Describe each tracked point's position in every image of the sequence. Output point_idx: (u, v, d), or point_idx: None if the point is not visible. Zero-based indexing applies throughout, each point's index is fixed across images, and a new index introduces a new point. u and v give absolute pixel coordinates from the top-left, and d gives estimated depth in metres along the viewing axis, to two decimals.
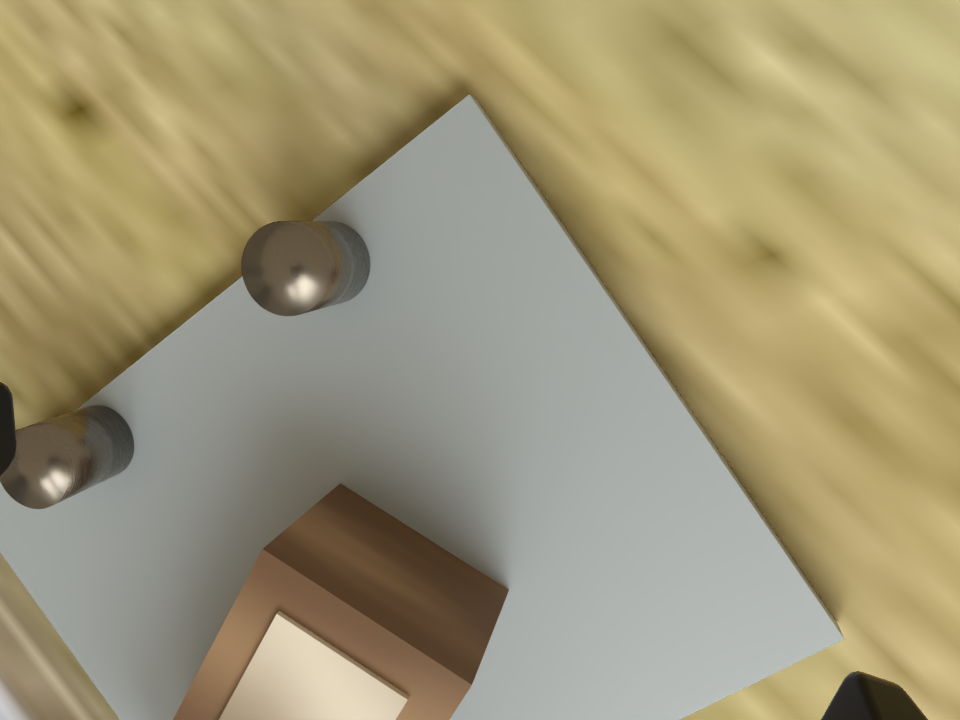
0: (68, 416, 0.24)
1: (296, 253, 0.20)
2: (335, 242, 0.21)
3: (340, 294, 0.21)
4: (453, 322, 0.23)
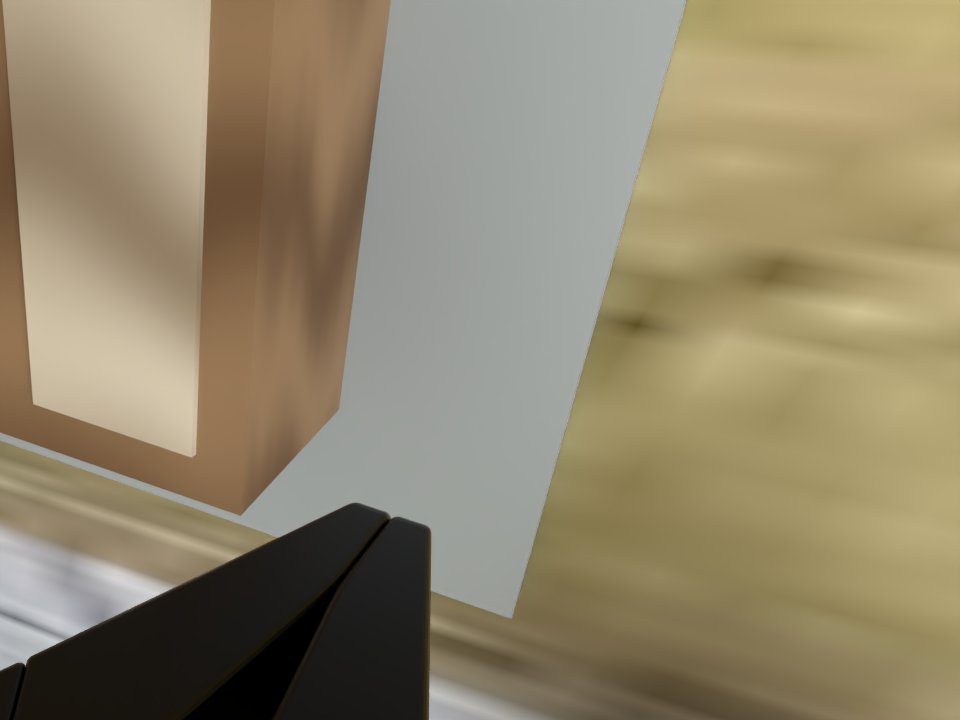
0: None
1: None
2: None
3: None
4: None
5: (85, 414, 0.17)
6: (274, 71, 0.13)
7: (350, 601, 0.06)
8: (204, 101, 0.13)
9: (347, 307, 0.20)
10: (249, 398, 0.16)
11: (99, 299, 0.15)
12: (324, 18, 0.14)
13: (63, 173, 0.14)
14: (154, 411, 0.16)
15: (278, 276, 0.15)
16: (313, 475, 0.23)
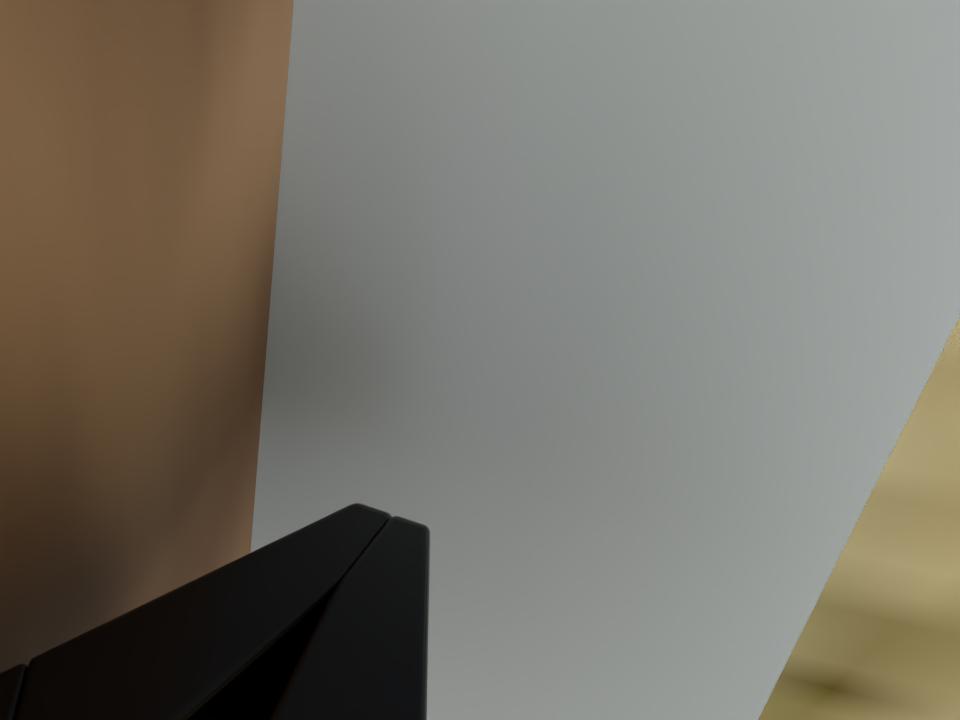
0: None
1: None
2: None
3: None
4: None
5: None
6: None
7: (352, 601, 0.06)
8: None
9: None
10: None
11: None
12: (51, 169, 0.05)
13: None
14: None
15: None
16: None
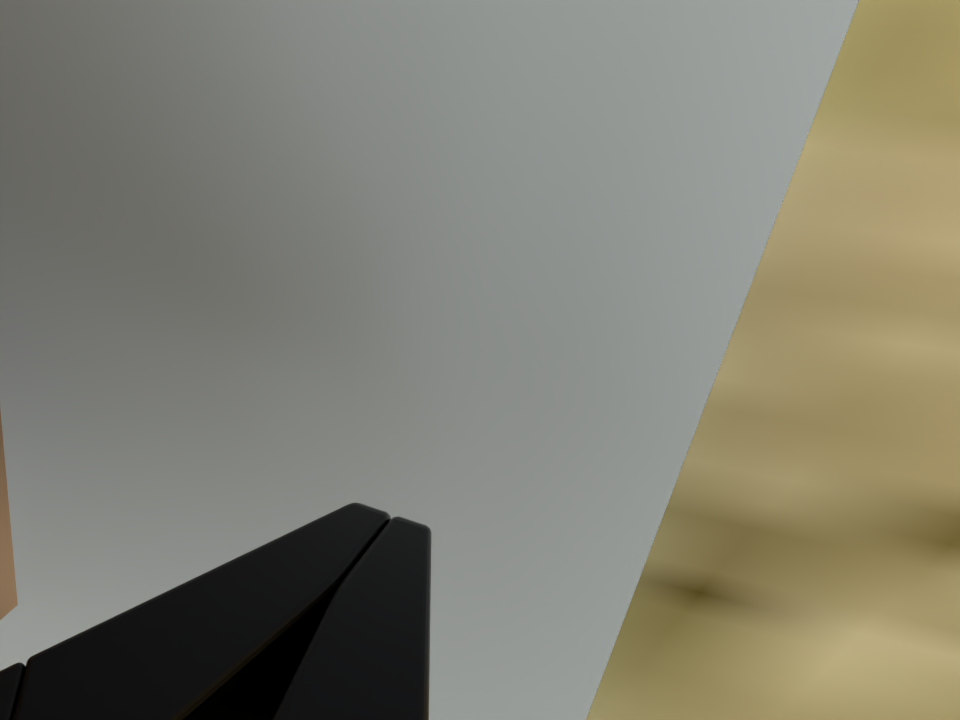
0: None
1: None
2: None
3: None
4: None
5: None
6: None
7: (350, 601, 0.06)
8: None
9: None
10: None
11: None
12: None
13: None
14: None
15: None
16: None
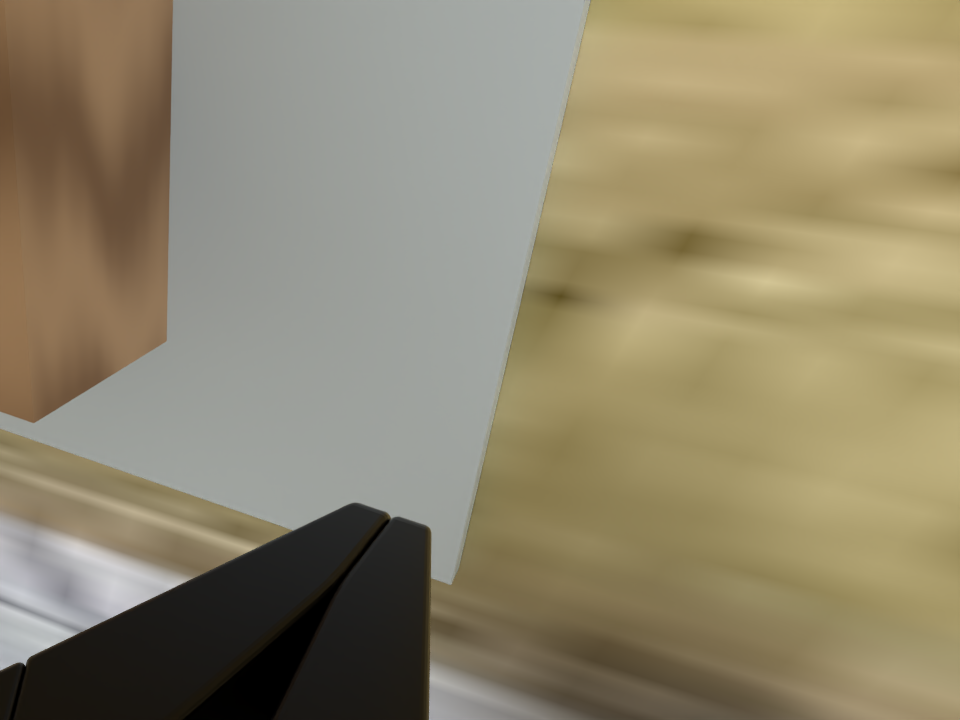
0: None
1: None
2: None
3: None
4: None
5: None
6: None
7: (350, 601, 0.06)
8: None
9: (162, 240, 0.21)
10: (27, 307, 0.17)
11: None
12: None
13: None
14: None
15: (49, 194, 0.17)
16: (259, 446, 0.23)
